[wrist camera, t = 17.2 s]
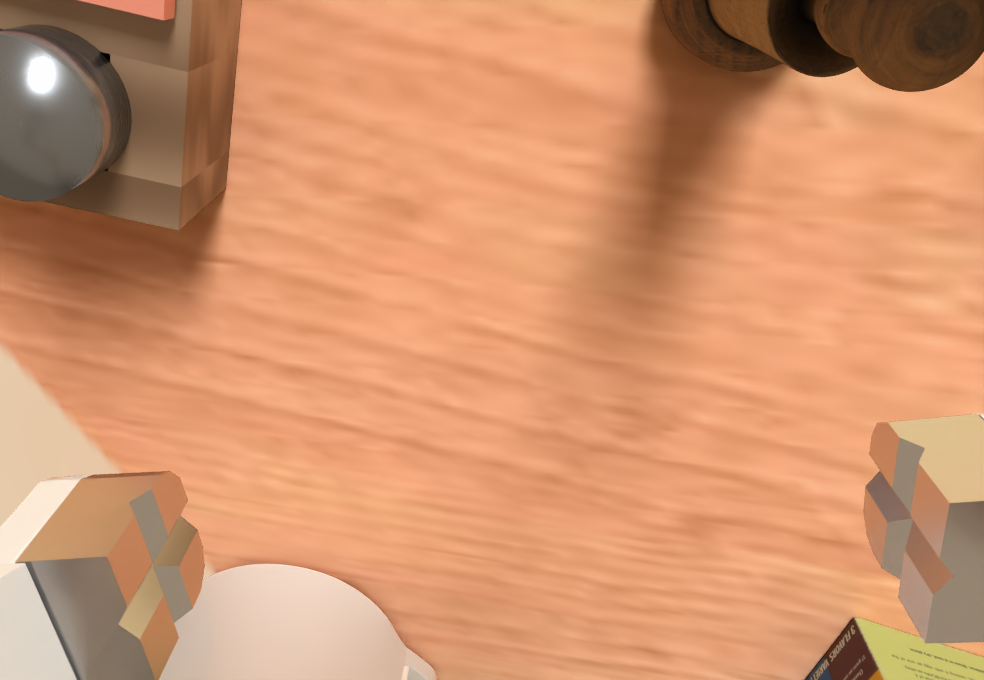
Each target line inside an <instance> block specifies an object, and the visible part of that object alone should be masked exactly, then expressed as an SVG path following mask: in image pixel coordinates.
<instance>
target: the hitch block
mask: <svg viewBox="0 0 984 680" xmlns="http://www.w3.org/2000/svg"><path fill="white" fill-rule="evenodd" d="M241 3H242V0H175V15H174V18H173V19H168V20H160V19H155V18H151V17H147V16H143V15H138V14H134V13H130V12H126V11H121V10H117V9H113V8H109V7H104V6H100V5H96V4H92V3H87V2H83V1H79V0H0V30H4V29H9V28H14V27H19V26H25V25H34V24H40V25H50V26H55V27H59V28H62V29H65V30H68V31H70V32H72V33H75V34H77V35H78V36H80V37H82V38H83V39H85V40H87V41H88V42H89V43H91V44H92V45H93V46H95V47H96V48H97V49H98V50H99V51H100V52H103V53H108V54H110V63H111V64H112V65H113V67H114V68H115V70H116V71H117V73H118V74H119V76H120V78H121V80H122V82H123V84H124V86H125V89H126V91H127V94H128V97H129V101H130V106H131V113H132V125H131V133H130V137H129V140H128V143H127V145H126V148H125V150H124V151H123V153H122V154H121V156H120V157H119V158H118V160H117V161H116V162H115V163H114V164H113V165H111V166H110V167H109V168H108V169H106V170H104V171H103V172H101V173H99V174H97V175H96V176H94V177H92V178H91V179H89V180H87V181H85V182H84V183H82V184H80V185H79V186H77V187H75V188H73V189H72V190H70V191H68V192H67V193H65V194H63V195H61V196H58V197H56V198H53V199H49V200H44V201H45V202H49V203H54V204H58V205H63V206H68V207H72V208H77V209H81V210H86V211H91V212H95V213H100V214H104V215H109V216H114V217H118V218H123V219H127V220H132V221H137V222H141V223H146V224H150V225H155V226H160V227H164V228H169V229H173V230H178V231H179V230H180V229H181V228H182V227H183V226H184V225H185V224H187V223H188V222H189V221H190V220H191V219H192V218H193V217H194V216H196V215H197V214H198V213H199V212H200V211H201V210H202V209H203V208H205V207H206V206H207V205H208V204H209V203H210V202H211V201H212V200H213V199H215V198H216V197H217V196H218V195H219V194H220V193H221V192H222V191H224V190H225V189H226V181H227V170H228V158H229V146H230V134H231V122H232V110H233V98H234V86H235V74H236V63H237V51H238V39H239V27H240V15H241Z"/></svg>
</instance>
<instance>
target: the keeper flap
mask: <svg viewBox="0 0 984 680" xmlns="http://www.w3.org/2000/svg"><path fill="white" fill-rule="evenodd" d="M79 1H83V2H87V3H92V4H96V5H100V6H104V7H109V8H113V9H117V10H121V11H126V12H130V13H134V14H138V15H143V16H147V17H151V18H155V19H160V20H168V19H173V18H174V15H175V0H79Z"/></svg>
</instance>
